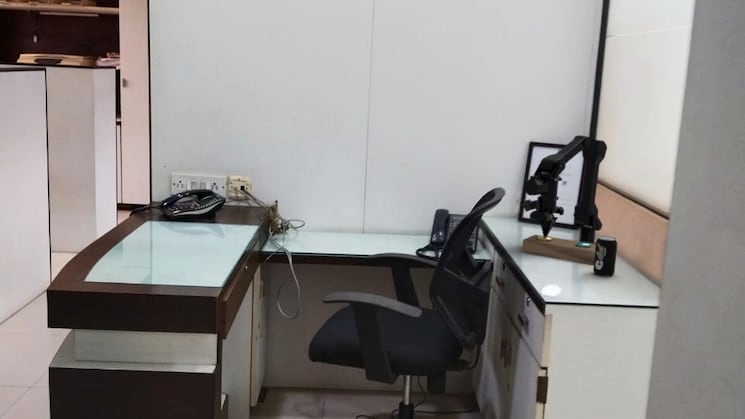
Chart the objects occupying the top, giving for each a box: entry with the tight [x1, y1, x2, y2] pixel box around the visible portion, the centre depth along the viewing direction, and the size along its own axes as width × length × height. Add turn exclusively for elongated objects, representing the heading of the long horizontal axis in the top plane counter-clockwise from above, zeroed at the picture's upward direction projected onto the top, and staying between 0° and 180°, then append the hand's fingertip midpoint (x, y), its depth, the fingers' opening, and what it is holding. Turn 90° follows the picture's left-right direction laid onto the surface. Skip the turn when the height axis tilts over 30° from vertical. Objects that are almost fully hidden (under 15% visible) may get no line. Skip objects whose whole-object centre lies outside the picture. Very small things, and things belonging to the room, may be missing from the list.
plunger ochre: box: [538, 235, 552, 242], centre depth 266 cm, size 5×5×5 cm
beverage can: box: [592, 235, 618, 277], centre depth 238 cm, size 7×7×12 cm
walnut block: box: [521, 234, 596, 266], centre depth 262 cm, size 12×26×4 cm, turn 57°
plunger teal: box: [576, 242, 591, 248], centre depth 258 cm, size 5×5×5 cm
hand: (545, 236), depth 265 cm, fingers closed
